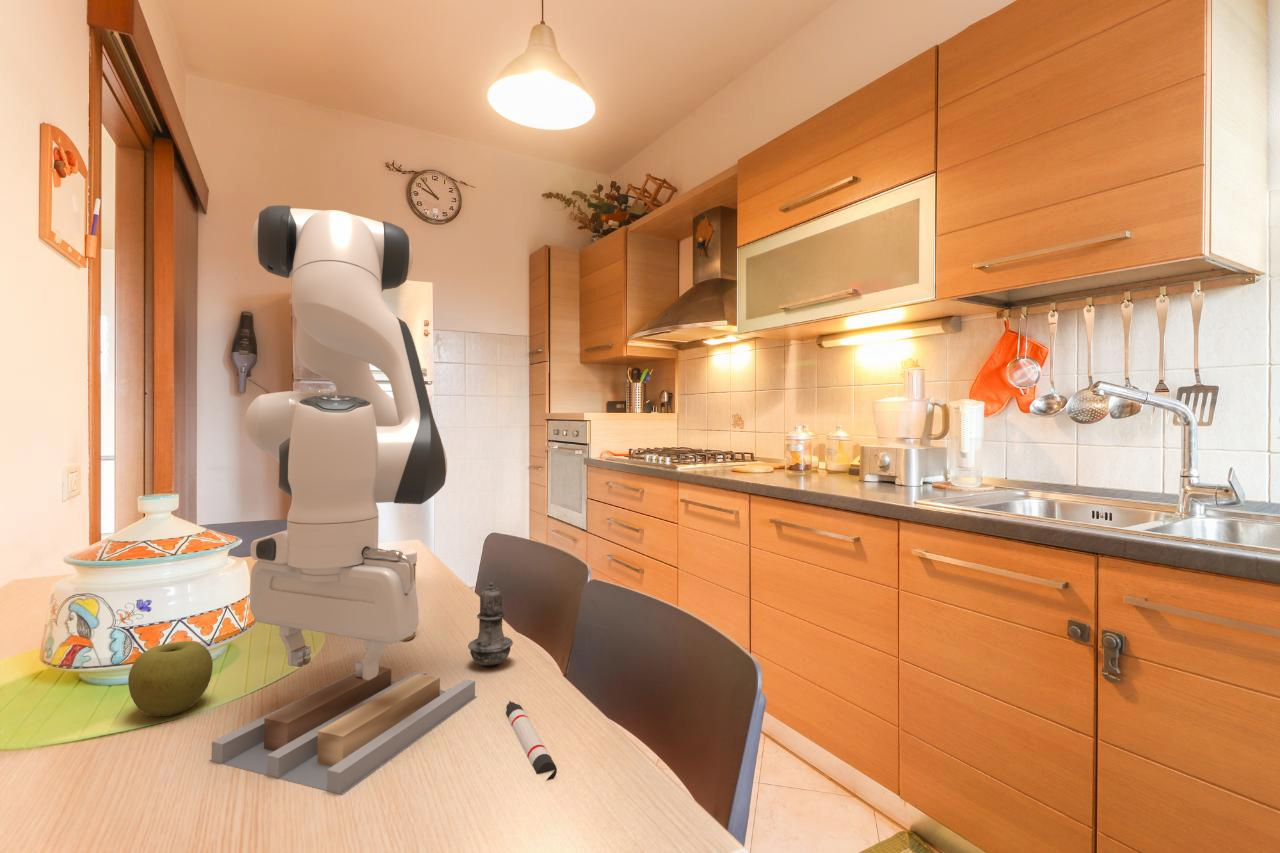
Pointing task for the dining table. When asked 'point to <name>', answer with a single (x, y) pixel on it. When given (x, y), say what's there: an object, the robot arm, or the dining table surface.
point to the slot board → (302, 755)
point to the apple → (170, 677)
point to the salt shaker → (490, 630)
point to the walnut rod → (320, 708)
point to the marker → (530, 740)
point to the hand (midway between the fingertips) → (332, 671)
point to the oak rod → (375, 718)
